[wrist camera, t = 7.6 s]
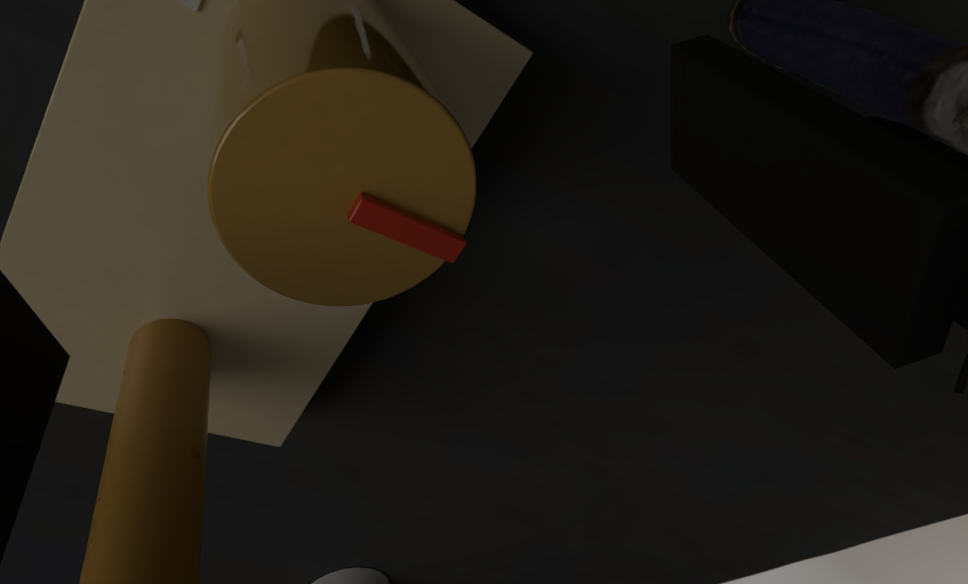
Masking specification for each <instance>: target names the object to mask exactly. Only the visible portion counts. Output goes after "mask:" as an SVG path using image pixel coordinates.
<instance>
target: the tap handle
mask: <svg viewBox="0 0 968 584" xmlns="http://www.w3.org/2000/svg"><path fill="white" fill-rule="evenodd" d="M476 192H477V174H476V167H475V161H474V157H473V154H472V150H471V147H470V144H469V142H468V140H467V138H466V136H465V134H464V131H463V130H462V128H461V127H460V125H459V124H458V122H457V120H456V119H455V117H454V116H453V114H452V113H451V111H450V110H449V108H448V106H447V105H446V103H445V102H444V100H443V99H442V97H441V96H440V94H439V92H438V91H437V89H436V88H435V86H434V85H433V83H432V82H431V80H430V78H429V77H428V75H427V74H426V72H425V71H424V69H423V68H422V66H421V64H420V63H419V61H418V60H417V58H416V57H415V55H414V54H413V52H412V50H411V49H410V47H409V46H408V44H407V43H406V41H405V40H404V38H403V36H402V35H401V33H400V32H399V30H398V29H397V27H396V26H395V24H394V22H393V21H392V19H391V18H390V16H389V15H388V13H387V12H386V10H385V9H384V8H383V7H382V5H381V4H380V3H379V2H378V1H377V0H239V1H238V2H237V4H236V5H235V7H234V8H233V9H232V11H231V13H230V15H229V17H228V19H227V21H226V23H225V26H224V29H223V32H222V36H221V42H220V49H219V60H218V71H217V82H216V93H215V104H214V115H213V126H212V137H211V148H210V160H209V171H208V188H207V196H208V204H209V211H210V215H211V218H212V222H213V225H214V228H215V230H216V232H217V234H218V236H219V239H220V241H221V242H222V244H223V245H224V247H225V249H226V250H227V252H228V253H229V255H230V256H231V257H232V258H233V259H234V260H235V262H236V263H237V264H238V265H239V266H240V267H241V268H242V269H243V270H244V271H245V272H247V273H248V274H249V275H250V276H251V277H252V278H253V279H255V280H256V281H258V282H259V283H261V284H262V285H264V286H265V287H267V288H269V289H271V290H273V291H275V292H277V293H279V294H281V295H283V296H286V297H289V298H291V299H294V300H298V301H302V302H305V303H309V304H316V305H323V306H355V305H362V304H368V303H373V302H377V301H380V300H384V299H387V298H390V297H392V296H395V295H397V294H400V293H402V292H404V291H406V290H408V289H410V288H412V287H414V286H415V285H417V284H418V283H420V282H422V281H423V280H425V279H426V278H427V277H429V276H430V275H431V274H432V273H433V272H435V271H436V270H437V269H438V268H439V267H440V266H441V265H442V264H443V263H444V262H445V261H448V262H451V263H454V262H455V260H456V259H457V257H458V256H459V254H460V253H461V251H462V250H463V248H464V247H465V245H466V243H467V242H466V240H465V238H464V234H465V232H466V229H467V227H468V225H469V222H470V220H471V216H472V213H473V209H474V205H475V199H476Z"/></svg>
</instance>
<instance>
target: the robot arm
mask: <svg viewBox="0 0 968 584" xmlns="http://www.w3.org/2000/svg"><path fill="white" fill-rule="evenodd" d="M671 169H672V170H673V171H674V172H675V173H676V174H677V175H678V176H680V177H681V178H682V179H683V180H684V181H685V182H686V183H687V184H689V185H690V186H691V187H692V188H693V189H694V190H695V191H696V192H697V193H699V194H700V195H701V196H702V197H703V198H704V199H705V200H706V201H708V202H709V203H710V204H711V205H712V206H713V207H714V208H715V209H716V210H718V211H719V212H720V213H721V214H722V215H723V216H724V217H725V218H726V219H728V220H729V221H730V222H731V223H732V224H733V225H734V226H735V227H737V228H738V229H739V230H740V231H741V232H742V233H743V234H744V235H745V236H747V237H748V238H749V239H750V240H751V241H752V242H753V243H754V244H756V245H757V246H758V247H759V248H760V249H761V250H762V251H763V252H764V253H766V254H767V255H768V256H769V257H770V258H771V259H772V260H773V261H774V262H776V263H777V264H778V265H779V266H780V267H781V268H782V269H783V270H785V271H786V272H787V273H788V274H789V275H790V276H791V277H792V278H793V279H795V280H796V281H797V282H798V283H799V284H800V285H801V286H802V287H804V288H805V289H806V290H807V291H808V292H809V293H810V294H811V295H812V296H814V297H815V298H816V299H817V300H818V301H819V302H820V303H821V304H822V305H824V306H825V307H826V308H827V309H828V310H829V311H830V312H831V313H833V314H834V315H835V316H836V317H837V318H838V319H839V320H840V321H841V322H843V323H844V324H845V325H846V326H847V327H848V328H849V329H850V330H852V331H853V332H854V333H855V334H856V335H857V336H858V337H859V338H860V339H862V340H863V341H864V342H865V343H866V344H867V345H868V346H869V347H870V348H872V349H873V350H874V351H875V352H876V353H877V354H878V355H879V356H881V357H882V358H883V359H884V360H885V361H886V362H887V363H888V364H889V365H891V366H892V367H893V368H894V369H896V368H899V367H902V366H905V365H908V364H910V363H913V362H916V361H919V360H922V359H925V358H927V357H930V356H933V355H936V354H939V353H941V352H942V351H943V348H944V345H945V342H946V339H947V336H948V333H949V330H950V328H951V325H952V322H953V320H954V321H956V322H957V323H958V324H960V325H961V326H962V327H964V328H965V329H966V330H968V155H966V154H964V153H962V152H959V153H956V152H955V149H954V148H952V147H950V146H948V145H946V144H944V143H942V142H940V141H935V142H934V141H933V138H932V137H930V136H928V135H926V134H924V133H922V132H920V131H918V130H916V129H914V128H912V127H910V126H908V125H906V124H903V123H898V122H894V121H890V120H886V119H882V118H878V117H873V116H869V117H866V118H865V117H863V116H861V115H859V114H857V113H855V112H853V111H851V110H850V109H848V108H846V107H844V106H842V105H840V104H838V103H836V102H834V101H832V100H831V99H829V98H827V97H825V96H823V95H821V94H819V93H817V92H815V91H813V90H812V89H810V88H808V87H806V86H804V85H802V84H800V83H798V82H796V81H794V80H792V79H791V78H789V77H787V76H785V75H783V74H781V73H779V72H777V71H775V70H773V69H772V68H770V67H768V66H766V65H764V64H762V63H760V62H758V61H756V60H754V59H753V58H751V57H749V56H747V55H745V54H743V53H741V52H739V51H737V50H735V49H733V48H732V47H730V46H728V45H726V44H724V43H722V42H720V41H718V40H716V39H714V38H713V37H711V36H709V35H707V34H706V35H703V36H699V37H696V38H693V39H689V40H686V41H682V42H679V43H675V44H672V45H671ZM69 358H70V355H69V354H68V353H67V352H66V350H65V349H64V348H63V347H62V346H61V344H60V343H59V342H58V341H57V339H56V338H55V337H54V336H53V334H52V333H51V332H50V331H49V329H48V328H47V327H46V326H45V324H44V323H43V322H42V321H41V320H40V318H39V317H38V316H37V315H36V313H35V312H34V311H33V310H32V308H31V307H30V306H29V305H28V303H27V302H26V301H25V300H24V298H23V297H22V296H21V295H20V293H19V292H18V291H17V290H16V289H15V287H14V286H13V285H12V284H11V282H10V281H9V280H8V279H7V277H6V276H5V275H4V274H3V272H2V271H1V270H0V564H1V561H2V558H3V555H4V552H5V549H6V546H7V543H8V540H9V537H10V534H11V531H12V528H13V525H14V522H15V519H16V516H17V513H18V510H19V507H20V504H21V501H22V498H23V495H24V492H25V489H26V486H27V483H28V480H29V477H30V474H31V471H32V468H33V465H34V462H35V459H36V456H37V454H38V451H39V448H40V445H41V442H42V439H43V436H44V433H45V430H46V427H47V424H48V421H49V418H50V415H51V412H52V409H53V406H54V403H55V400H56V397H57V394H58V391H59V388H60V385H61V382H62V379H63V376H64V373H65V370H66V367H67V364H68V361H69ZM967 383H968V353H967V356H966V358H965V361H964V364H963V366H962V369H961V371H960V374H959V377H958V379H957V382H956V386H955V389H954V392H955V393H961V394H963V392H964V390H965V387H966V385H967Z"/></svg>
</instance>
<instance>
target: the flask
mask: <svg viewBox="0 0 968 584" xmlns="http://www.w3.org/2000/svg"><path fill="white" fill-rule="evenodd" d="M729 30H730V32H731V33H732V36H733V38H734V40H735V42H738V43H740V45H741V46H742V48H743V49H744V50H746V51H747V52H748V53H749V54H751V53H752V55H753V56H756V57H758V58H760V59H762V60H763V61H765V63H767V64H769V65H772V64H773V65H775V66H776V67H777V68H778V69H780V68H781V69H782V70H784V71H786V72H787V71H790V72H793V73H795V74H796V75H798V76H799V75H800V76H801V77H803V78H805V79H807V80H808V81H811V82H812V83H814V84H817V85H819V86H821V87H824V88H826V89H828V90H830V91H833V92H835V93H837V94H839V95H841V96H843V97H846V98H847V99H849V100H851V101H852V102H854V103H856V104H858V105H860V106H862V107H864V108H866V109H868V110H870V111H872V112H874V113H876V114H877V115H879V116H882V117H884V118H886V119H888V120H890V121H894V122H898V123H903V124H906V125H908V126H910V127H912V128H914V129H916V130H918V131H920V132H922V133H924V134H926V135H928V136H930V137H932V138H933V141H934V142H935V141H940V142H942V143H944V144H946V145H948V146H950V147H952V148H954V149H955V152H956V153H959V152H962V153H964V154H966V155H968V44H966V43H962V42H959V41H952V40H947V39H944V38H942V37H939V36H937V35H934V34H932V33H929V32H926V31H924V30H921V29H918V28H916V27H912V26H909V25H906V24H902V23H900V22H898V21H895V20H891V19H888V18H886V17H884V16H882V15H880V14H877V13H875V12H872V11H870V10H867V9H865V8H860V7H855V6H854V5H853V6H851V5H849V4H846V3H842V2H838V1H835V0H738V1H737V2H736V3H735V6H734V8H733V10H732V12H731V18H730V26H729Z"/></svg>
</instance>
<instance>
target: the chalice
mask: <svg viewBox="0 0 968 584" xmlns="http://www.w3.org/2000/svg"><path fill="white" fill-rule="evenodd" d="M312 584H389V583H388V579H387V577H386V576H385V575H384V574H382V573H381V572H379V571H376V570H374V569H370V568H360V567H358V568H348V569H342V570H339V571H335V572H332V573H329V574H327V575H325V576H323V577H321V578H319V579H317V580H316V581H314V582H313V583H312Z"/></svg>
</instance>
